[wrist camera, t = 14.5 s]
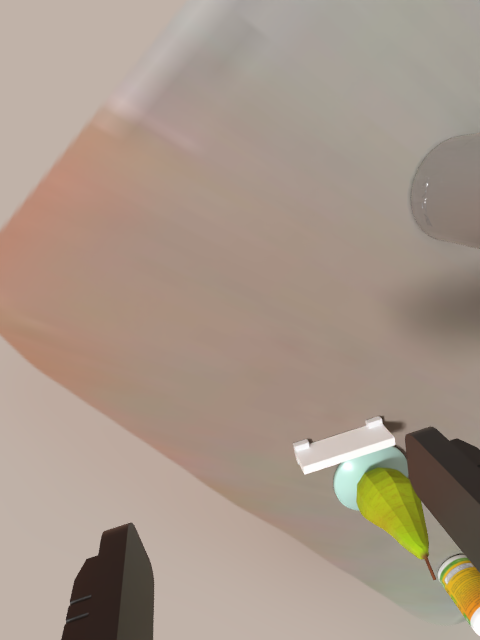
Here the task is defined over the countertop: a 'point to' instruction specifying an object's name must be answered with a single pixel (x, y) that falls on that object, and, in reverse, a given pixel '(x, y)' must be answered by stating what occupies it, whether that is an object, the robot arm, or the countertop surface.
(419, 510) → the fruit
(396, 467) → the pad
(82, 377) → the countertop surface
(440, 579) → the supplement bottle
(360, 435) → the rail
